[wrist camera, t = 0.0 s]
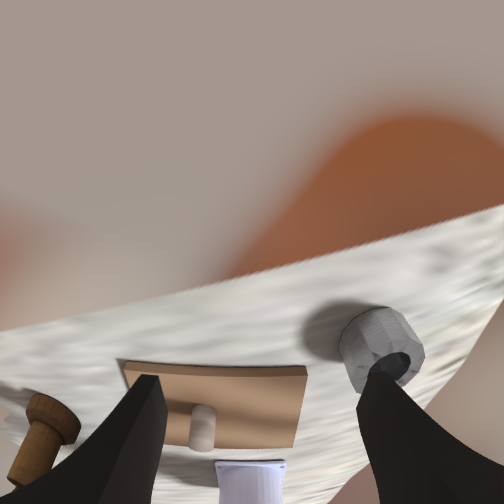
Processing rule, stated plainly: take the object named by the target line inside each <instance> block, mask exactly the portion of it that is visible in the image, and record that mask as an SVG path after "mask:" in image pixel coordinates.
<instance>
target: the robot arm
mask: <svg viewBox="0 0 504 504" xmlns="http://www.w3.org/2000/svg"><path fill="white" fill-rule="evenodd" d="M356 411H357V417H358V423H359V428H360V433H361V436H362V439H363V442H364V445H365V448H366V451H367V455H368V458H369V461H370V464H371V467H372V470H373V473H374V476H375V479H376V484H377V488H378V493H379V499H380V504H504V466H503V465H500V464H498V463H496V462H494V461H492V460H490V459H488V458H486V457H484V456H482V455H481V454H479V453H477V452H475V451H474V450H472V449H471V448H469V447H468V446H466V445H464V444H463V443H462V442H460V441H459V440H458V439H456V438H455V437H453V436H452V435H451V434H449V433H448V432H447V431H446V430H444V429H443V428H442V427H441V426H440V425H439V424H438V423H436V422H435V421H434V420H433V419H432V418H431V417H430V416H429V415H428V414H427V413H425V412H424V411H423V410H422V409H421V408H420V407H419V406H418V405H417V404H416V403H415V402H414V401H413V400H412V399H411V398H410V397H409V395H408V394H407V393H406V392H405V391H404V390H403V389H402V388H401V387H400V386H399V385H398V384H397V383H396V382H395V381H394V380H393V379H392V378H391V377H390V376H389V375H388V374H387V373H386V372H385V371H380V372H372V373H369V376H368V378H367V381H366V384H365V387H364V389H363V392H362V394H361V397H360V400H359V402H358V405H357V407H356ZM167 418H168V409H167V405H166V402H165V398H164V394H163V390H162V387H161V383H160V379H159V375H149V374H141V375H140V376H139V377H138V378H137V380H136V381H135V382H134V384H133V385H132V387H131V388H130V389H129V391H128V392H127V393H126V394H125V396H124V397H123V398H122V400H121V401H120V402H119V403H118V405H117V406H116V407H115V408H114V410H113V411H112V412H111V413H110V414H109V416H108V417H107V418H106V419H105V420H104V421H103V423H102V424H101V425H100V426H99V427H98V428H97V429H96V430H95V431H94V432H93V433H92V434H91V436H90V437H89V438H88V439H87V440H86V441H85V442H84V443H83V444H81V445H80V446H79V447H78V448H77V449H76V450H75V451H74V452H73V453H72V454H70V455H69V456H68V457H67V458H65V459H64V460H63V461H62V462H60V463H59V464H58V465H57V466H55V467H54V468H53V469H51V470H50V471H48V472H47V473H45V474H44V475H42V476H40V477H39V478H37V479H36V480H34V481H32V482H31V483H29V484H27V485H25V486H24V487H22V488H19V489H17V490H15V491H13V492H11V493H9V494H6V495H4V496H2V497H0V504H151V495H152V490H153V485H154V480H155V476H156V472H157V468H158V464H159V460H160V456H161V452H162V448H163V444H164V439H165V434H166V427H167ZM286 467H287V462H286V461H267V462H225V461H217V462H215V469H216V474H217V479H218V484H219V489H220V495H219V504H283V496H282V483H283V479H284V475H285V471H286Z"/></svg>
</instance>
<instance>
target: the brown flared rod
mask: <svg viewBox="0 0 504 504" xmlns="http://www.w3.org/2000/svg"><path fill="white" fill-rule="evenodd" d="M26 415H27V418H28V421H29V423H30V425H31V426H30V429H29V431H28V433H27V435H26V437H25V439H24V441H23V443H22V445H21V447H20V450H19V452H18V454H17V456H16V458H15V460H14V462H13V465H12V467H11V469H10V471H9V473H8V476H7V479H8V480H9V481H10V482H11V483H12V484H14V485H15V486H16V488H15V489H14V490H13V491H15V490H17V489H19V488H22V487H24V486H25V485H27V484H29V483H31V482H32V481H34V480H36V479H37V478H39V477H40V476H42V475H44V474H45V473H47V472H48V471H50V470H51V468H52V466H53V463H54V461H55V459H56V456H57V454H58V451H59V449H60V447H61V445H67V444H73V443H75V441H76V439H77V437H78V434H79V432H80V429H81V423H80V421H79V420H78V418H77V417H76V416H75V415H74V414H73V413H72V412H71V411H70V410H69V409H68V408H67V407H65V406H64V405H63V404H61V403H60V402H58V401H56V400H54V399H52V398H50V397H48V396H45V395H40V394H37V395H34V396H33V397H32V399H31V401H30V403H29V405H28V407H27V409H26ZM13 491H12V492H13Z"/></svg>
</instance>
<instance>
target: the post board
mask: <svg viewBox="0 0 504 504" xmlns="http://www.w3.org/2000/svg"><path fill="white" fill-rule="evenodd" d="M123 370H124V373H125V376H126V379H127V381H128V384H129V387H130V388H131V387H132V385H133V384H134V382H135V381H136V380H137V378H138V377H139V376H140V375H141V374H149V375H159V379H160V383H161V387H162V390H163V394H164V398H165V402H166V405H167V409H168V418H167V427H166V434H165V439H164V444H166V445H176V446H186V447H189V448H190V449H192V450H195V451H198V452H209V451H211V450H213V448H219V449H274V448H292V447H293V443H294V439H295V434H296V430H297V425H298V421H299V416H300V412H301V407H302V402H303V397H304V392H305V387H306V382H307V377H308V374H307V369H306V366H300V367H266V368H231V367H198V366H179V365H164V364H151V363H140V362H130V361H127V362H126V365H125V367H124V369H123Z"/></svg>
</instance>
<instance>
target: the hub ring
mask: <svg viewBox="0 0 504 504" xmlns="http://www.w3.org/2000/svg"><path fill="white" fill-rule="evenodd" d="M339 350H340V353H341V356H342V358H343V361H344V364H345V367H346V370H347V373H348V375H349V378H350V381H351V383H352V385H353V387H354V389H355V391H356V393H359V394H362V392H363V389H364V387H365V384H366V381H367V378H368V376H369V373H372V372H380V371H385V372H386V373H387V374H388V375H389V376H390V377H391V378H392V379H393V380H394V381H395V382H396V383H397V384H398V385H399V386H400V387H403V386H405V385H406V384H407V383H408V382H409V381H410V380H411V379H412V378H413V377H414V376H415V375H416V374H417V373H418V372H419V370H420V368H421V366H422V364H423V361H424V359H425V353H424V349H423V344H422V343H421V341H420V340H419V338H418V337H417V335H416V334H415V332H414V331H413V329H412V328H411V327H410V325H409V324H408V322H407V321H406V319H405V318H404V316H403V315H402V314H400V313H399V312H397V311H395V310H394V309H392V308H375V309H371V310H369V311H367V312H365V313H363V314H361V315H359V316H357V317H355V318H354V319H353V320H352V322H351V323H350V324H349V325H348V326H347V327H346V328H345V330H344V331H343V332H342V335H341V339H340V344H339Z"/></svg>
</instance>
